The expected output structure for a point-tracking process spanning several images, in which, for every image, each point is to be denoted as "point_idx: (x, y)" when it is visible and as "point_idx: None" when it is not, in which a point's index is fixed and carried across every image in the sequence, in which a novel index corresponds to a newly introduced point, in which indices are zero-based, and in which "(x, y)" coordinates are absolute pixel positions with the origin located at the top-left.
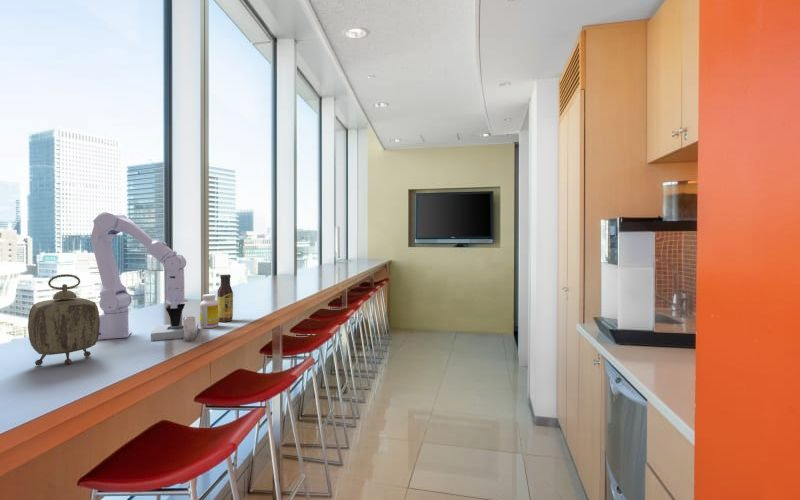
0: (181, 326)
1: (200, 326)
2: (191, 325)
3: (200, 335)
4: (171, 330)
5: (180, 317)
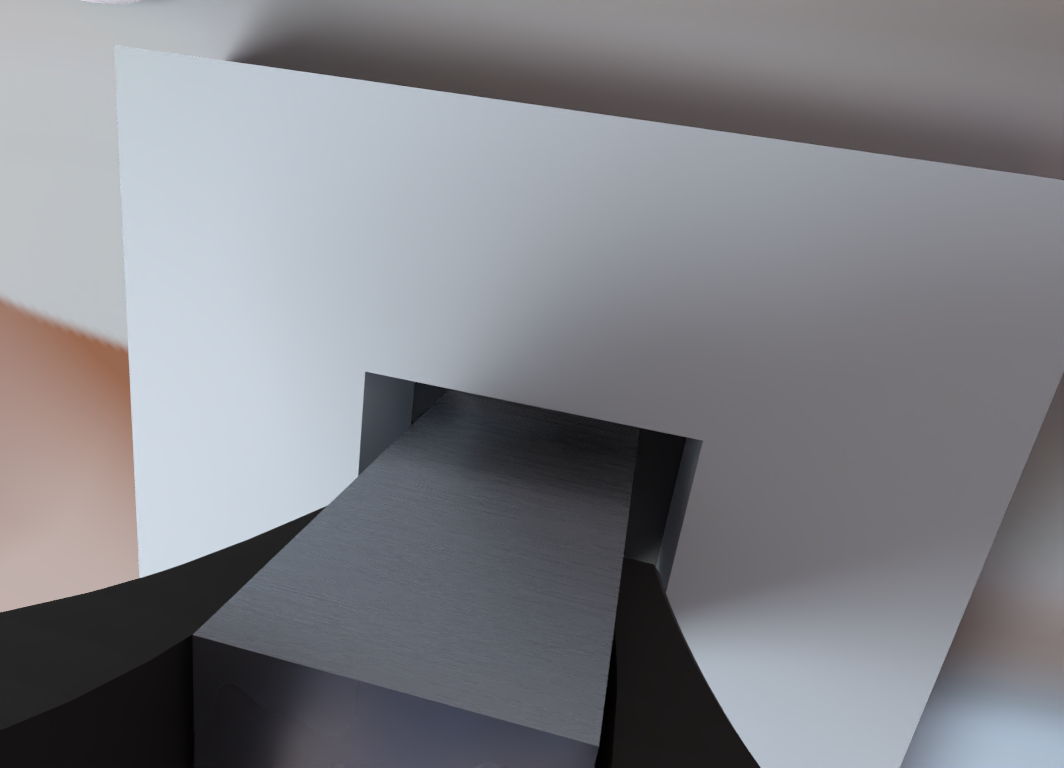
0: (630, 490)
1: (131, 2)
2: None
3: (949, 89)
4: (778, 673)
5: (606, 655)
